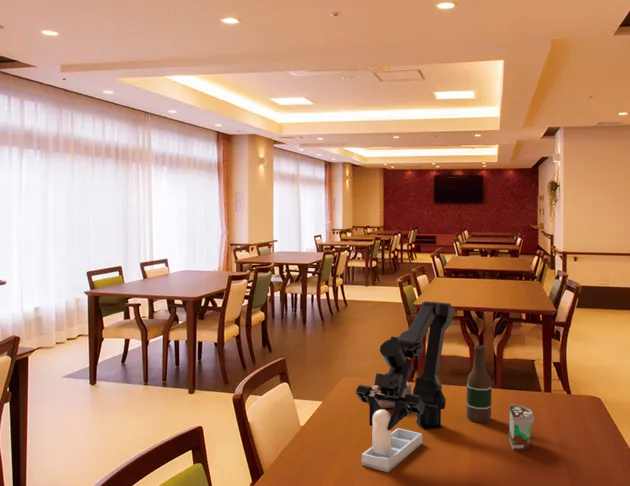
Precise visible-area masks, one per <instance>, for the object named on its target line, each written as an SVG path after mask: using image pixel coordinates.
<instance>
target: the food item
mask: <svg viewBox="0 0 630 486" xmlns="http://www.w3.org/2000/svg"><path fill="white" fill-rule="evenodd" d="M406 385H407V386H408V387H407V390H406V389H404V392H403V395H402V397H403V398H405V395H406V394H412V389H411V388H412V385H411V384H410V383H409V382H408V381H407V383H406ZM371 387H372V388H373V390H374V391H375V392H377V393H381V391H380V390H379V389H378V386H377V385H374V383H372V386H371ZM378 404H379V405H380V407H381V408H380V409H383V410H386V409H394V408H395V403H390V402H386V401H381V400H379V402H378Z"/></svg>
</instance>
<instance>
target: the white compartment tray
mask: <svg viewBox="0 0 630 486" xmlns="http://www.w3.org/2000/svg"><path fill="white" fill-rule="evenodd" d="M421 445H423V433H421V432H417V431H413V430H409V429H403V428H399V427H397V428H396V429H394V430H393V431H391V452H390V453H387V454H378V453H375V452H373V451H372V446H371V447H369V448H367V450H365V451H364V452H362V453H361V466H364V467H368V468H371V469H374V470H379V471H382V472H385V473H389V472H390V471H392V470H393V469H394V468H395V467H397V466H398V465H399V464H400V463H402V461H403V460H405V459H406V458H407V457H408V456H409V455H411V454H412V453H413V452H414V451H415V450H417V449H418V448H419V447H420V446H421Z"/></svg>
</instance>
